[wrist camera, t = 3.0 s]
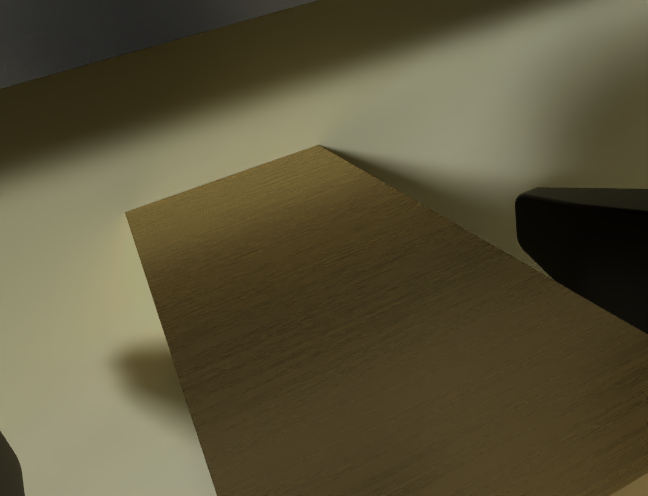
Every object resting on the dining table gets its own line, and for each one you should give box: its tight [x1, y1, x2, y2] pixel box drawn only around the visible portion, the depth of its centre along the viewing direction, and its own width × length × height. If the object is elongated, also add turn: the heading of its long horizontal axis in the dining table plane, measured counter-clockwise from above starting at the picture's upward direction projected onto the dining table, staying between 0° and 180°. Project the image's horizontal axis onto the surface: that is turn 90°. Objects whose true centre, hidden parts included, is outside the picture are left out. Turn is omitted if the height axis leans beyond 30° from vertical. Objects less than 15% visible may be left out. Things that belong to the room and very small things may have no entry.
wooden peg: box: [125, 145, 648, 496], centre depth 8 cm, size 4×4×8 cm
